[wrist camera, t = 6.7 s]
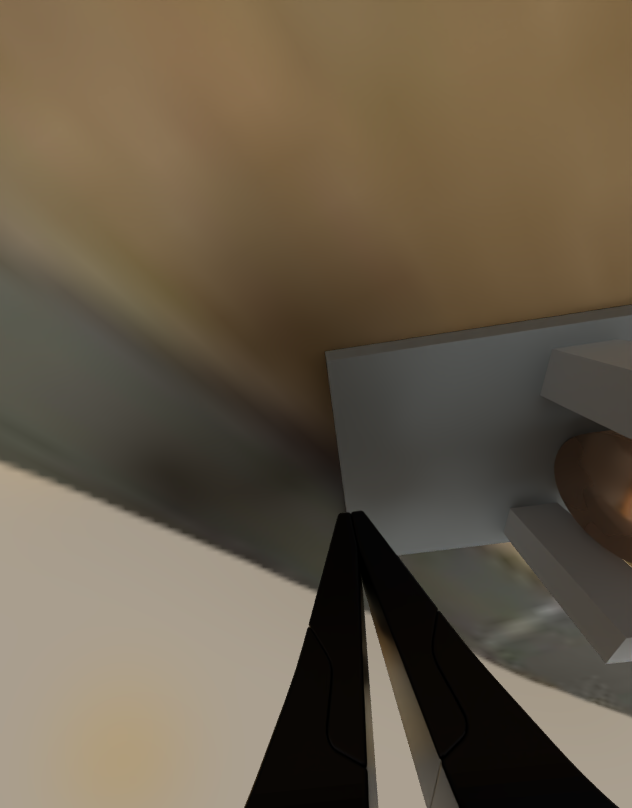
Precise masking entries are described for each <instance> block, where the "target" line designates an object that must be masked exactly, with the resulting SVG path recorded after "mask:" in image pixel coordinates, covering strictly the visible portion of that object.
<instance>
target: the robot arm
mask: <svg viewBox="0 0 632 808" xmlns="http://www.w3.org/2000/svg"><path fill="white" fill-rule="evenodd" d="M361 578H362V579H361ZM362 583H363V587H364V591H365V594H366V598H367V601H368V605H369V608H370V612H371V615H372V619H373V622H374V626H375V629H376V633H377V636H378V639H379V643H380V646H381V650H382V654H383V657H384V660H385V664H386V667H387V671H388V674H389V677H390V681H391V685H392V688H393V692H394V695H395V699H396V702H397V705H398V709H399V712H400V716H401V720H402V723H403V727H404V730H405V733H406V737H407V740H408V744H409V747H410V751H411V754H412V757H413V761H414V765H415V768H416V771H417V775H418V779H419V782H420V786H421V789H422V792H423V796H424V800H425V803H426V806H427V808H619V807H618V806H616V805H615V804H614V803H613V802H612V801H611V800H610V799H608V798H607V797H606V796H605V795H604V794H603V793H602V792H601V791H600V790H599V789H598V788H596V786H595V785H594V784H593V783H592V782H590V781H589V780H588V779H587V778H586V777H585V776H584V775H583V774H582V773H581V772H580V771H579V770H578V769H577V768H576V766H574V764H573V763H572V762H571V761H570V760H569V759H568V758H567V757H566V756H565V755H564V754H563V753H562V752H561V751H560V750H559V748H558V747H557V746H556V745H555V744H554V743H553V742H552V741H551V740H550V739H549V737H548V736H547V735H546V734H545V733H544V732H543V731H542V730H541V729H540V728H539V726H538V725H537V724H536V723H535V722H534V721H533V720H532V719H531V717H530V716H529V715H528V714H527V713H526V712H525V711H524V710H523V709H522V708H521V706H520V705H519V704H518V703H517V702H516V701H515V700H514V699H513V698H512V696H511V695H510V694H509V693H508V692H507V691H506V690H505V689H504V688H503V686H502V685H501V684H500V683H499V682H498V681H497V680H496V679H495V678H494V676H493V675H492V674H491V673H490V672H489V671H488V670H487V668H486V667H485V666H484V665H483V664H482V663H481V662H480V660H479V659H478V658H477V657H476V656H475V655H474V653H473V652H472V651H471V650H470V649H469V648H468V646H467V645H466V644H465V643H464V641H463V640H462V639H461V638H460V636H459V635H458V634H457V633H456V631H455V630H454V629H453V628H452V626H451V625H450V624H449V622H448V621H447V620H446V618H445V617H444V616H443V614H442V613H441V612H440V611H438V608H437V607H436V606H435V604H434V603H433V602H432V600H431V599H430V598H429V596H428V595H427V594H426V592H425V591H424V590H423V588H422V587H421V586H420V585H419V583H418V582H417V581H416V579H415V578H414V577H413V575H412V574H411V573H410V571H409V570H408V569H407V567H406V566H405V565H404V564H403V562H402V561H401V560H400V558H399V557H398V556H397V554H396V553H395V552H394V550H393V549H392V548H391V546H390V545H389V544H388V543H387V541H386V540H385V539H384V537H383V536H382V535H381V533H380V532H379V531H378V529H377V528H376V527H375V526H374V524H373V523H372V522H371V520H370V519H369V518H368V516H367V515H366V514H365V512H364V511H362V510H360V511H353V512H351V513H350V512H345V513H340V514H339V515H338V517H337V521H336V525H335V528H334V532H333V536H332V539H331V543H330V547H329V551H328V554H327V558H326V562H325V566H324V569H323V573H322V577H321V580H320V584H319V588H318V592H317V595H316V599H315V603H314V607H313V610H312V614H311V618H310V622H309V627H308V629H307V632H306V636H305V639H304V643H303V647H302V650H301V653H300V657H299V660H298V663H297V667H296V670H295V673H294V676H293V679H292V682H291V685H290V688H289V690H288V693H287V696H286V699H285V702H284V705H283V707H282V710H281V713H280V715H279V718H278V721H277V723H276V726H275V729H274V732H273V734H272V737H271V739H270V742H269V745H268V747H267V750H266V753H265V756H264V758H263V761H262V763H261V767H260V769H259V772H258V774H257V777H256V779H255V782H254V785H253V787H252V790H251V792H250V795H249V797H248V800H247V802H246V804H245V807H244V808H378V797H377V783H376V768H375V755H374V740H373V727H372V714H371V713H372V712H371V698H370V684H369V670H368V656H367V642H366V629H365V614H364V600H363V588H362Z"/></svg>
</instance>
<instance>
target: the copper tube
mask: <svg viewBox="0 0 632 808" xmlns="http://www.w3.org/2000/svg"><path fill="white" fill-rule="evenodd" d="M554 474H555V481H556V484H557V488H558V491H559V493H560V496H561V498H562V500H563V502H564V504H565V505H566V507H567V509H568V510H569V512H570V513H571V515H572V516H573V518H574V519H575V520H576V521H577V523H578V524H579V525H580V526H581V527H582V528H583V529H584V530H585V531H586V532H587V533H588V534H589V535H590V536H591V537H592V538H593V539H594V540H595V541H597V542H598V543H599V544H600V545H601V546H603V547H604V548H606V549H607V550H608V551H610V552H611V553H613V554H615V555H616V556H618V557H619V558H621V559H623V560H625V561H627V562H629V563H632V439H629V438H627V437H625V436H623V435H621V434H619V433H617V432H615V431H613V430H607V431H601V432H594V433H587V434H581V435H578V436H575V437H573V438H571V439H569V440H568V441H567V442H565V443H564V444H563V445H562V446H561V448H560V449H559V451H558V453H557V455H556V459H555V464H554Z"/></svg>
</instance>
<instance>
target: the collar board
mask: <svg viewBox="0 0 632 808" xmlns="http://www.w3.org/2000/svg"><path fill="white" fill-rule="evenodd" d="M325 356H326V364H327V371H328V379H329V386H330V394H331V401H332V409H333V416H334V424H335V431H336V439H337V447H338V454H339V462H340V469H341V477H342V484H343V492H344V499H345V507H346V512H350V513H351V512H353V511H360V510H362V511H364V512H365V514H366V515H367V516H368V518H369V519H370V520H371V522H372V523H373V524H374V526H375V527H376V528H377V529H378V531H379V532H380V533H381V535H382V536H383V537H384V539H385V540H386V541H387V543H388V544H389V545H390V546H391V548H392V549H393V550H394V552H395V553H396V554H397V555H405V554H413V553H422V552H430V551H439V550H447V549H455V548H464V547H472V546H480V545H489V544H497V543H505V542H511V543H512V545H513V546H514V547H515V548H516V550H517V551H518V552H519V554H520V555H521V556H522V557H523V559H524V560H525V561H526V563H527V564H528V565H529V566H530V568H531V569H532V570H533V571H534V573H535V574H536V575H537V577H538V578H539V579H540V580H541V582H542V583H543V584H544V586H545V587H546V588H547V589H548V591H549V592H550V593H551V594H552V596H553V597H554V598H555V600H556V601H557V602H558V603H559V605H560V606H561V607H562V608H563V610H564V611H565V612H566V614H567V615H568V616H569V617H570V619H571V620H572V621H573V623H574V624H575V625H576V626H577V628H578V629H579V630H580V631H581V633H582V634H583V635H584V637H585V638H586V639H587V640H588V642H589V643H590V644H591V646H592V647H593V648H594V649H595V651H596V652H597V653H598V654H599V656H600V657H601V658H602V660H603V661H604V662H605V663H606V664H609V663H619V662H629V661H632V567H630V566H629V565H631V566H632V563H629V562H627V561H626V562H627V563H628V564H629V565H628V564H627V563H626V562H625V561H624V560H622V559H621V558H619V557H618V556H616V555H615V554H613V553H611V552H610V551H608V550H607V549H606V548H604V547H603V546H601V545H600V544H599V543H598V542H597V541H595V540H594V539H593V538H592V537H591V536H590V535H589V534H588V533H587V532H586V531H585V530H584V529H583V528H582V527H581V526H580V525H579V524H578V523H577V521H576V520H575V519H574V518H573V516H572V515H571V513H570V512H569V510H568V509H567V507H566V505H565V504H564V502H563V500H562V498H561V496H560V493H559V491H558V488H557V484H556V481H555V474H554V464H555V459H556V455H557V453H558V451H559V449H560V448H561V446H562V445H563V444H564V443H565V442H567V441H568V440H569V439H571V438H573V437H575V436H578V435H581V434H587V433H594V432H601V431H607V430H613V431H615V432H617V433H619V434H621V435H623V436H625V437H627V438H629V439H632V305H626V306H620V307H613V308H606V309H600V310H593V311H587V312H580V313H574V314H567V315H561V316H554V317H548V318H541V319H534V320H528V321H521V322H515V323H508V324H502V325H495V326H489V327H482V328H476V329H469V330H462V331H456V332H449V333H443V334H436V335H430V336H423V337H417V338H410V339H404V340H397V341H390V342H384V343H377V344H371V345H364V346H358V347H351V348H345V349H338V350H332V351H325Z"/></svg>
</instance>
